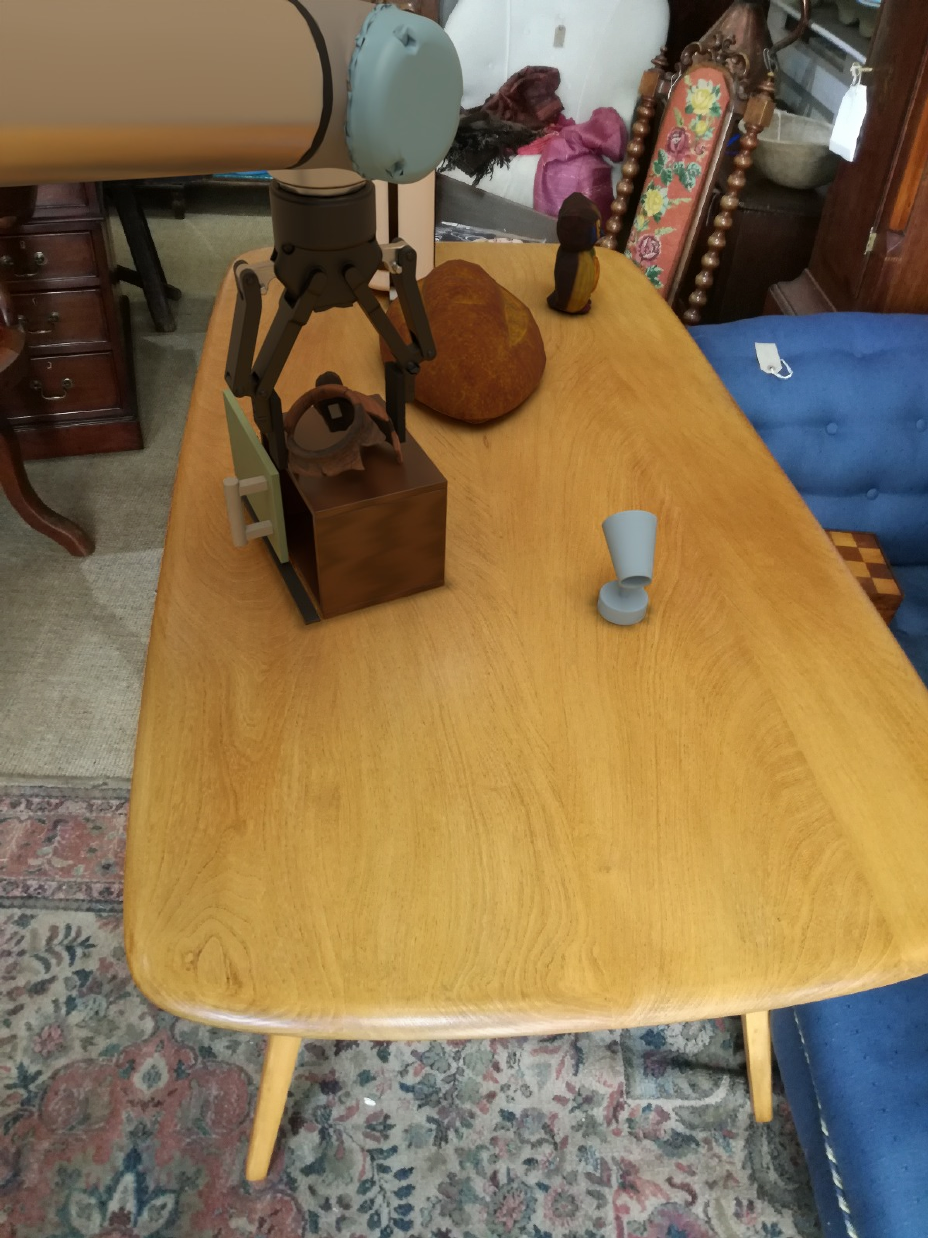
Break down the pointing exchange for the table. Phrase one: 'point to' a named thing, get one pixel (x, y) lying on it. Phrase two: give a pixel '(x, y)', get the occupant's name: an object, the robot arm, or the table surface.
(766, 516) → the table surface
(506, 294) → the bread
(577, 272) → the figurine
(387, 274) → the coffee press
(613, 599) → the spotlight
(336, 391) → the broken clay pot
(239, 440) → the sliding door
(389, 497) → the cupboard
